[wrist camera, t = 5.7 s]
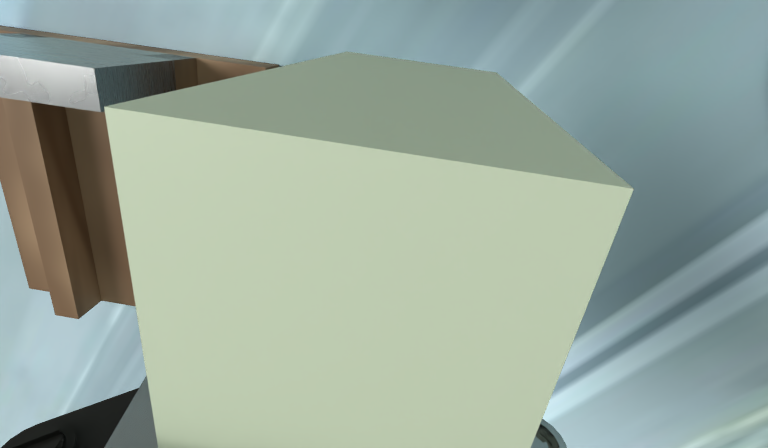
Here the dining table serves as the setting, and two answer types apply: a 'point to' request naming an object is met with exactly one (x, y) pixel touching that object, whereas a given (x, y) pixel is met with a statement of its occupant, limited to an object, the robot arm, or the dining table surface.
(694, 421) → the dining table surface
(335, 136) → the pale green foam block
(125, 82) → the bookend
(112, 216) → the wooden slotted rack
